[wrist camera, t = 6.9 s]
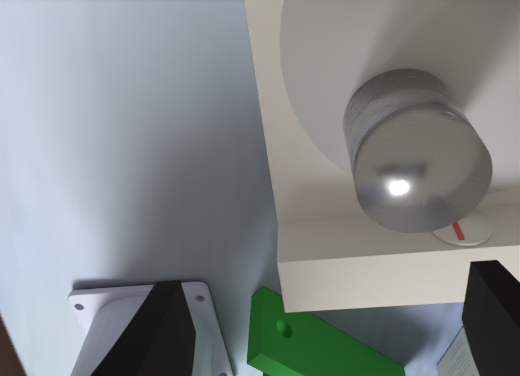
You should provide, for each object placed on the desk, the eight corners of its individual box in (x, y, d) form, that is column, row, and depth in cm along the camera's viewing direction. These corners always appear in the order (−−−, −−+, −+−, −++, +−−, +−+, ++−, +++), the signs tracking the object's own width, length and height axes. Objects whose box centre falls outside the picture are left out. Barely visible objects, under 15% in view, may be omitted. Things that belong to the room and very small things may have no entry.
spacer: (453, 158, 19) (488, 225, 16) (348, 173, 19) (360, 239, 16) (456, 59, 17) (497, 112, 13) (337, 78, 17) (349, 134, 14)
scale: (597, 219, 23) (655, 290, 20) (284, 243, 25) (285, 312, 21) (749, -249, 14) (917, -282, 10) (226, -159, 16) (208, -159, 12)
